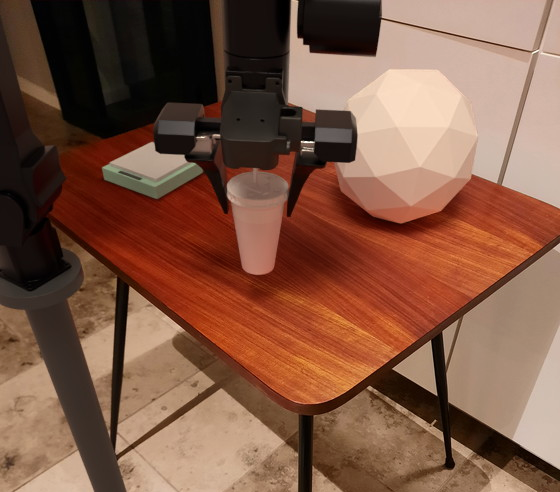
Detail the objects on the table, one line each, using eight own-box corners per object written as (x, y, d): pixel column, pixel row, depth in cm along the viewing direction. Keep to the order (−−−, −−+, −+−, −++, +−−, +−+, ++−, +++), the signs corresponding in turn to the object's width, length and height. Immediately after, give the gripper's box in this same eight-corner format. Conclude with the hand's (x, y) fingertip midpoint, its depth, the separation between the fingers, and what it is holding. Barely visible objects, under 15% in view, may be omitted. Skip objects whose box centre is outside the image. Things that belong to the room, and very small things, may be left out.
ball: (419, 251, 88) (532, 172, 72) (324, 243, 75) (436, 146, 60) (381, 149, 92) (481, 55, 77) (286, 126, 80) (381, 8, 65)
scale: (156, 199, 84) (154, 183, 82) (104, 179, 88) (100, 163, 86) (203, 172, 90) (201, 156, 88) (152, 155, 94) (149, 140, 92)
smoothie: (271, 245, 66) (273, 125, 57) (295, 273, 62) (302, 150, 53) (221, 257, 64) (214, 135, 55) (243, 287, 60) (240, 161, 50)
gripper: (125, 74, 42) (153, 251, 53) (371, 85, 42) (348, 261, 53) (156, 34, 50) (175, 195, 61) (363, 43, 50) (344, 204, 61)
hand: (257, 213), depth 59 cm, fingers closed on smoothie, 6 cm apart
